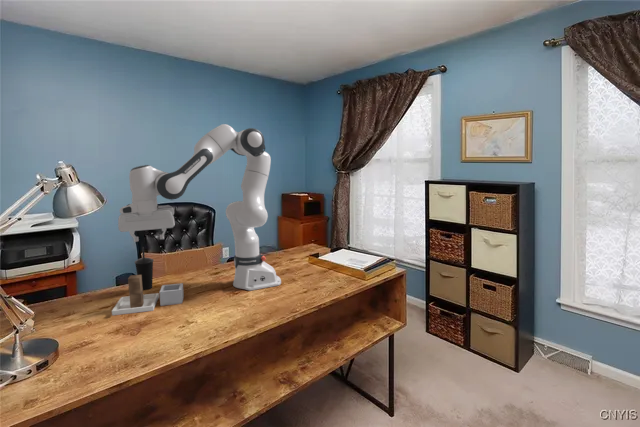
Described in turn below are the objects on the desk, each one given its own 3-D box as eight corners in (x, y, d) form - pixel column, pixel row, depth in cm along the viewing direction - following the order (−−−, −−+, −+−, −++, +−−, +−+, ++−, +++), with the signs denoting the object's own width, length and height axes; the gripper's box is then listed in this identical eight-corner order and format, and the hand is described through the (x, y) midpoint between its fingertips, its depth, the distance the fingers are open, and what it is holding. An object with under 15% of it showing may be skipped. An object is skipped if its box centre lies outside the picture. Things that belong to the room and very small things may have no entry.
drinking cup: (148, 293, 151) (144, 249, 148) (133, 292, 153) (129, 248, 150) (159, 287, 158) (156, 245, 155) (144, 286, 160) (141, 244, 157)
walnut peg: (143, 303, 139) (141, 274, 137) (141, 306, 135) (139, 277, 133) (132, 304, 138) (130, 275, 136) (130, 308, 134) (127, 278, 132)
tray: (158, 298, 145) (158, 293, 145) (153, 312, 132) (152, 306, 132) (121, 302, 141) (121, 297, 141) (112, 317, 128) (111, 311, 128)
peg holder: (183, 297, 146) (182, 283, 145) (182, 305, 139) (181, 289, 138) (163, 300, 144) (162, 285, 143) (160, 307, 136) (159, 292, 135)
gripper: (174, 203, 142) (177, 236, 145) (118, 207, 136) (123, 241, 139) (172, 205, 136) (176, 239, 139) (114, 209, 130) (119, 244, 133)
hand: (149, 240), depth 139 cm, fingers open, 8 cm apart
